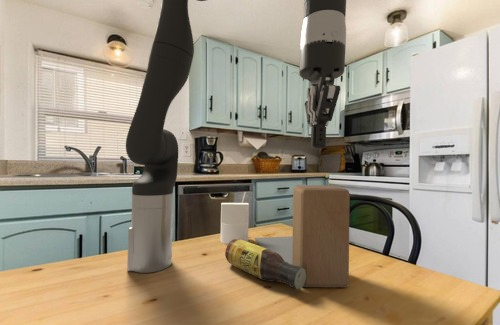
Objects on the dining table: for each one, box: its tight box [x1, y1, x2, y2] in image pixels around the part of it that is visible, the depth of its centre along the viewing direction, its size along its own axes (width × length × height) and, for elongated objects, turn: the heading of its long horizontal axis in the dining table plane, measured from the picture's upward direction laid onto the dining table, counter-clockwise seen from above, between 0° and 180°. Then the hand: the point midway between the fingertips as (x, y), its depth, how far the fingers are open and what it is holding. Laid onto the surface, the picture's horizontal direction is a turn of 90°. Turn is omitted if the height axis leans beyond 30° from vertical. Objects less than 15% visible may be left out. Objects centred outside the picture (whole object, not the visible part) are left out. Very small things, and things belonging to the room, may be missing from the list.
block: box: [292, 184, 351, 288], centre depth 54 cm, size 10×10×20 cm
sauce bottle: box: [224, 239, 306, 290], centre depth 54 cm, size 6×6×20 cm
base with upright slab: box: [220, 202, 250, 245], centre depth 79 cm, size 9×9×12 cm
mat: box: [254, 235, 293, 265], centre depth 71 cm, size 16×24×1 cm, turn 10°
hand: (317, 148), depth 43 cm, fingers closed
